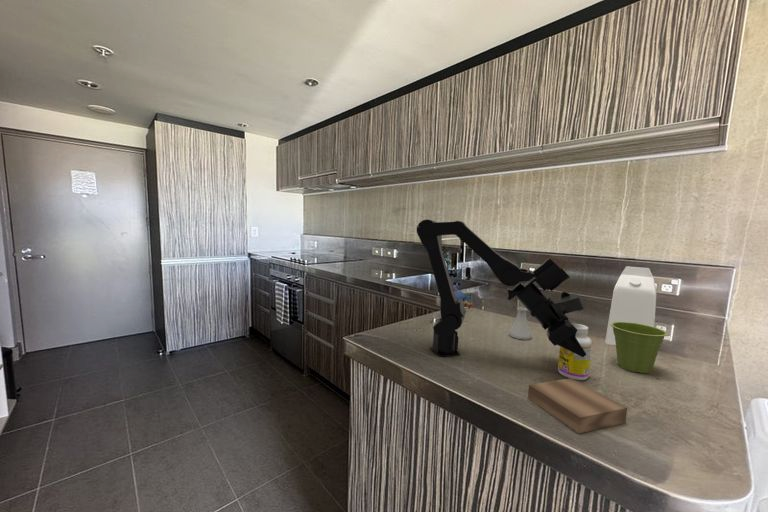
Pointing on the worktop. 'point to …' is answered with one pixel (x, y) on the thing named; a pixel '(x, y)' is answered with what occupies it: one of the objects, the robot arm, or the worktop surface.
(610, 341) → the milk
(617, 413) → the walnut base block
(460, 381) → the worktop surface
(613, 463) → the worktop surface
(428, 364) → the worktop surface
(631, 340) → the plant pot
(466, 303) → the model
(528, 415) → the worktop surface
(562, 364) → the supplement bottle
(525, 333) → the flask
